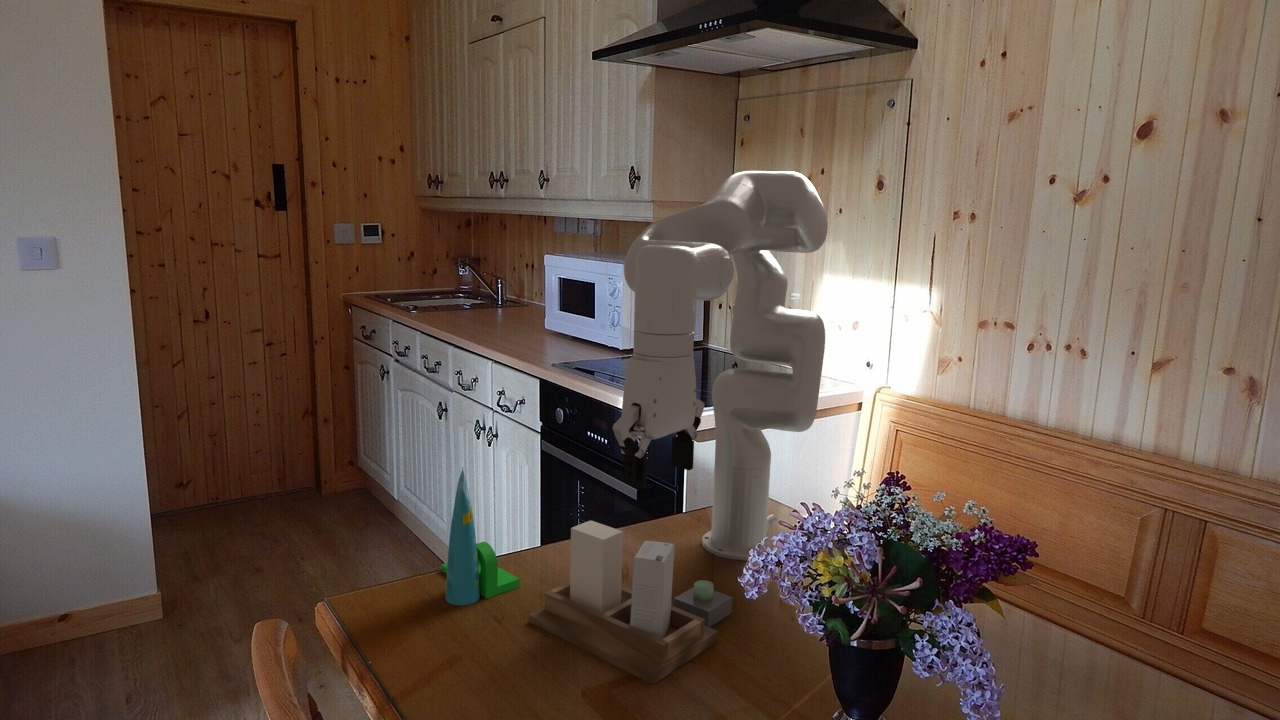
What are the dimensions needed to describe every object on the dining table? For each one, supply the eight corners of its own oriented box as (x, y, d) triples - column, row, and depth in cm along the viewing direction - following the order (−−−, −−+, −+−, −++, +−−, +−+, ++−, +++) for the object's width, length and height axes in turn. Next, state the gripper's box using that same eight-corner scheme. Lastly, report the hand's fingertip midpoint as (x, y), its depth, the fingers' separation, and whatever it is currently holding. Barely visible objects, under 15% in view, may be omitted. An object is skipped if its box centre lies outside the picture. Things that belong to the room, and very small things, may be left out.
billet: (589, 599, 119) (590, 520, 117) (620, 612, 116) (622, 531, 114) (569, 608, 116) (571, 528, 114) (601, 623, 113) (603, 539, 110)
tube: (482, 611, 118) (482, 482, 115) (447, 615, 117) (446, 484, 113) (476, 588, 125) (475, 466, 122) (443, 591, 124) (442, 468, 120)
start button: (700, 591, 121) (701, 578, 120) (716, 597, 119) (717, 584, 119) (689, 597, 119) (690, 584, 118) (705, 604, 117) (706, 590, 116)
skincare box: (640, 622, 113) (642, 538, 111) (672, 627, 112) (675, 542, 110) (627, 644, 107) (630, 556, 105) (661, 649, 106) (664, 560, 104)
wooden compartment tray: (596, 591, 125) (597, 566, 125) (717, 641, 112) (718, 613, 111) (528, 624, 115) (528, 597, 114) (653, 684, 101) (654, 654, 100)
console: (697, 600, 123) (698, 584, 123) (731, 613, 120) (732, 597, 119) (673, 614, 119) (673, 598, 118) (707, 628, 115) (708, 611, 115)
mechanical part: (519, 591, 125) (519, 541, 124) (486, 603, 121) (486, 551, 119) (474, 566, 133) (474, 518, 132) (441, 576, 129) (441, 528, 128)
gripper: (681, 334, 112) (676, 455, 115) (594, 349, 99) (592, 485, 102) (727, 341, 107) (721, 467, 111) (642, 357, 94) (638, 500, 97)
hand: (659, 476), depth 106 cm, fingers open, 9 cm apart
